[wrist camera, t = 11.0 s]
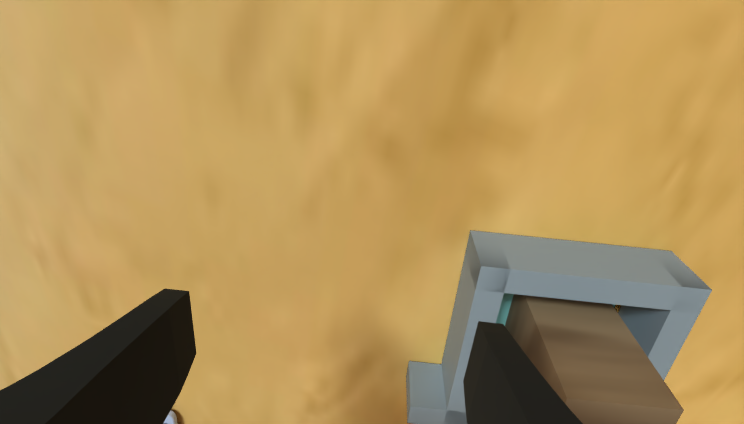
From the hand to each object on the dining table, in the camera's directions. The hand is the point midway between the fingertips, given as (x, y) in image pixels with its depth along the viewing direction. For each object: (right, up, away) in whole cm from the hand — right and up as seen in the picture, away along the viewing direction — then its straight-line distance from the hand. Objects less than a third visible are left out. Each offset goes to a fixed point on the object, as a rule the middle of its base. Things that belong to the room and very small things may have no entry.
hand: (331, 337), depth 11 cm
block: (+10, -2, +11) cm, 15 cm away
